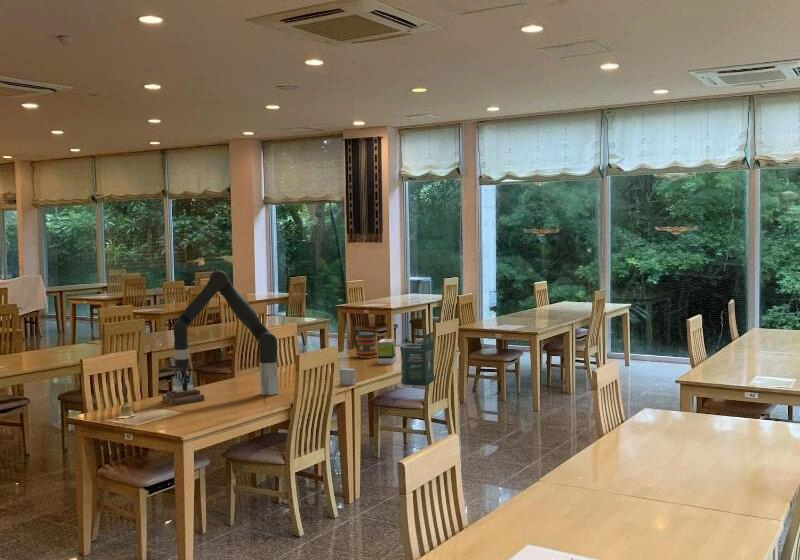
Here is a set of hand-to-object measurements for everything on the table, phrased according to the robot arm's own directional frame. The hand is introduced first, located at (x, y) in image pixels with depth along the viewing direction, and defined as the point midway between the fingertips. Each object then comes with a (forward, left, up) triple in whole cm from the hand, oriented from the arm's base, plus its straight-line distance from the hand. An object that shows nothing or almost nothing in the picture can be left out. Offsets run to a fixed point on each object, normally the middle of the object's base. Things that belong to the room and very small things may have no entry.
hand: (183, 389), depth 418 cm
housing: (0, 0, -1) cm, 1 cm away
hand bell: (-15, +36, -6) cm, 40 cm away
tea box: (+16, -150, -6) cm, 151 cm away
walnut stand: (0, 0, -6) cm, 6 cm away
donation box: (-53, -116, -6) cm, 128 cm away
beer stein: (+46, -154, -6) cm, 161 cm away
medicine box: (-28, -86, -6) cm, 91 cm away
